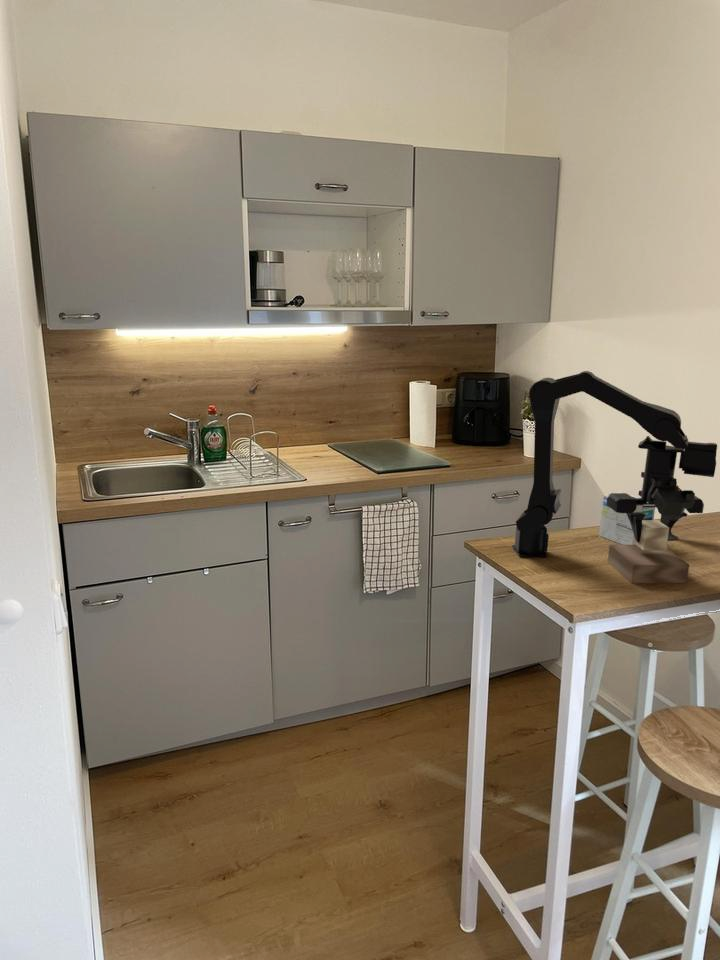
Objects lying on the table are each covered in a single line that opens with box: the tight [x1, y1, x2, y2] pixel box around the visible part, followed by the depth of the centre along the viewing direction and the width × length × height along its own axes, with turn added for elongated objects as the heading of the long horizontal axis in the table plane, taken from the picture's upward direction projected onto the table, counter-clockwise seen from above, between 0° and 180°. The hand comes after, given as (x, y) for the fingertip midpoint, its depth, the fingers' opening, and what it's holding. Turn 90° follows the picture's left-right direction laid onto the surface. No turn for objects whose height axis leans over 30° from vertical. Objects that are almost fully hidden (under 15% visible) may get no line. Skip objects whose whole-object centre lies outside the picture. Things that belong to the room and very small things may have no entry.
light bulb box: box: [598, 491, 656, 545], centre depth 175 cm, size 11×7×11 cm, turn 30°
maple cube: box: [633, 519, 669, 550], centre depth 154 cm, size 5×5×5 cm
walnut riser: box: [607, 544, 690, 584], centre depth 156 cm, size 12×12×4 cm
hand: (649, 541), depth 155 cm, fingers closed on maple cube, 5 cm apart
